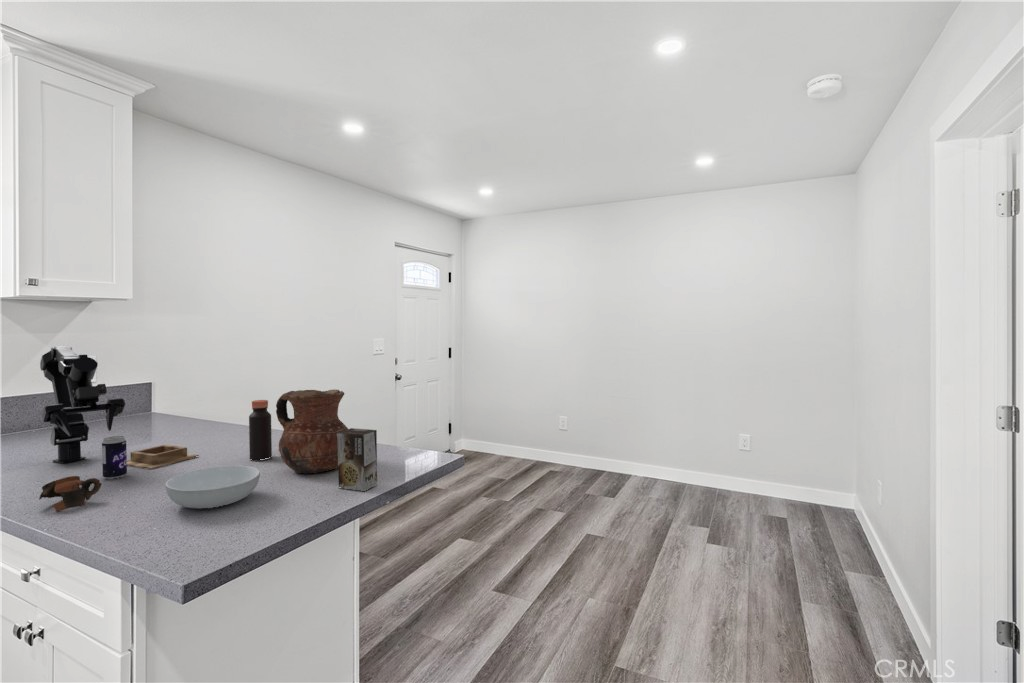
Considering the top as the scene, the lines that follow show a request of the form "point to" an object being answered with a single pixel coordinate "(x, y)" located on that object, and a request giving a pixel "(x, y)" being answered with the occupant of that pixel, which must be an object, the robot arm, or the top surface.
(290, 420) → the jug
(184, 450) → the socket board
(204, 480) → the serving bowl
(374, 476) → the coffee box
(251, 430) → the bottle
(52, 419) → the robot arm
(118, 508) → the top surface
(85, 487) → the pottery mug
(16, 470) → the top surface
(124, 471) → the beverage can
